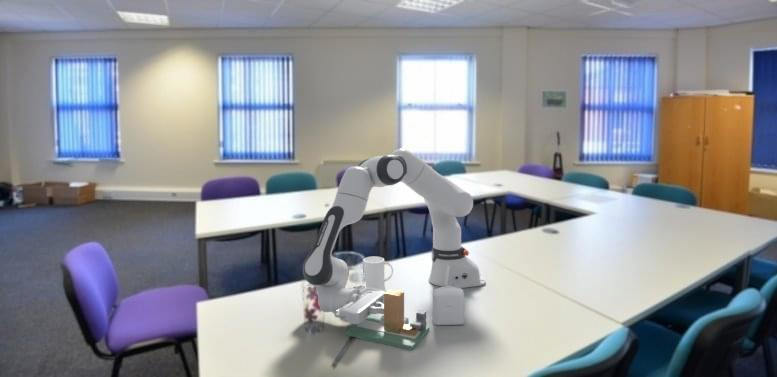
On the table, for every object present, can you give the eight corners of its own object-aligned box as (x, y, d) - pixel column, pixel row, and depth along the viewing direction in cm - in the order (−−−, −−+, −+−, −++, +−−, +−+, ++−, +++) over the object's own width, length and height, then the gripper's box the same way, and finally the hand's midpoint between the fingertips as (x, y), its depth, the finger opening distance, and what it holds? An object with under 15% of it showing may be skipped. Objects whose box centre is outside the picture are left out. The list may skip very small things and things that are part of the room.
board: (346, 335, 150) (346, 315, 149) (367, 317, 163) (367, 299, 162) (412, 350, 141) (412, 329, 140) (429, 330, 153) (429, 311, 152)
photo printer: (433, 326, 156) (433, 289, 154) (431, 320, 160) (432, 284, 158) (464, 326, 156) (465, 289, 154) (463, 320, 160) (463, 284, 158)
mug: (391, 284, 193) (391, 255, 191) (395, 292, 185) (394, 261, 183) (362, 285, 191) (361, 256, 189) (364, 294, 183) (363, 263, 181)
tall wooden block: (384, 330, 150) (383, 293, 148) (389, 325, 153) (389, 289, 151) (414, 336, 146) (414, 298, 144) (419, 331, 149) (419, 294, 147)
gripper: (330, 305, 147) (371, 313, 141) (362, 282, 165) (399, 289, 159) (331, 324, 148) (371, 333, 142) (363, 300, 166) (400, 307, 160)
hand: (386, 309), depth 151 cm, fingers closed
